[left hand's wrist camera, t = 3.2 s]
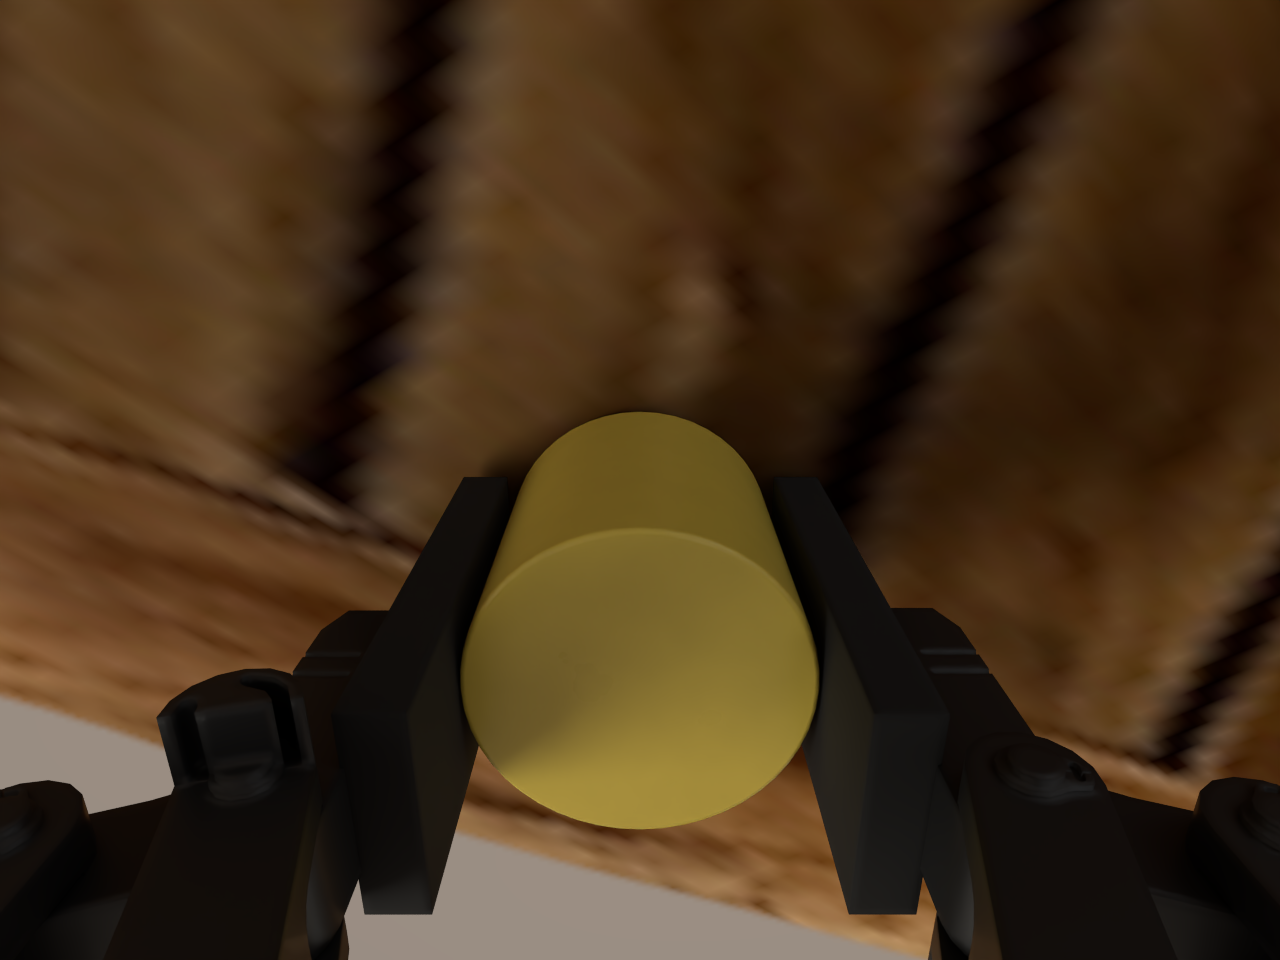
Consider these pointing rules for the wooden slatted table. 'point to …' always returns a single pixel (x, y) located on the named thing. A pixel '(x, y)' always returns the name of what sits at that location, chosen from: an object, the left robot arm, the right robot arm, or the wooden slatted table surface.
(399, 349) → the wooden slatted table surface
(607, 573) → the canister
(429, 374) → the wooden slatted table surface
